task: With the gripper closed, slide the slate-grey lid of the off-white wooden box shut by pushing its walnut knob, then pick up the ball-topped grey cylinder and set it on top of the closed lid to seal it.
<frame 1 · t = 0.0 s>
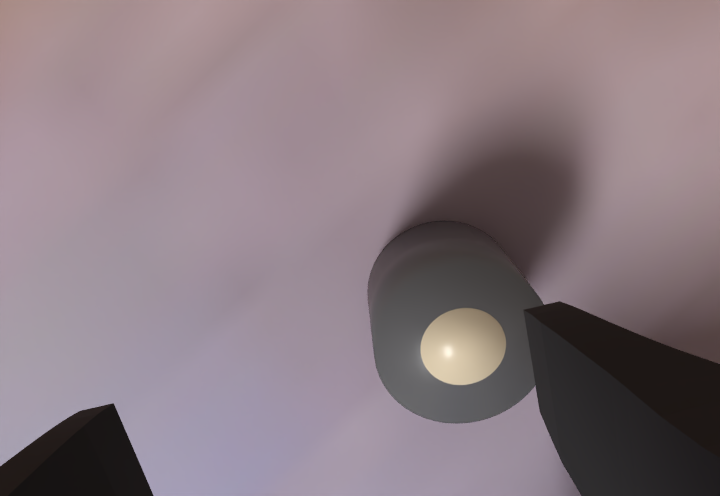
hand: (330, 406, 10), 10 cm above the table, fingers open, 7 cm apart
ball-topped grey cylinder: (440, 291, 21), on the table
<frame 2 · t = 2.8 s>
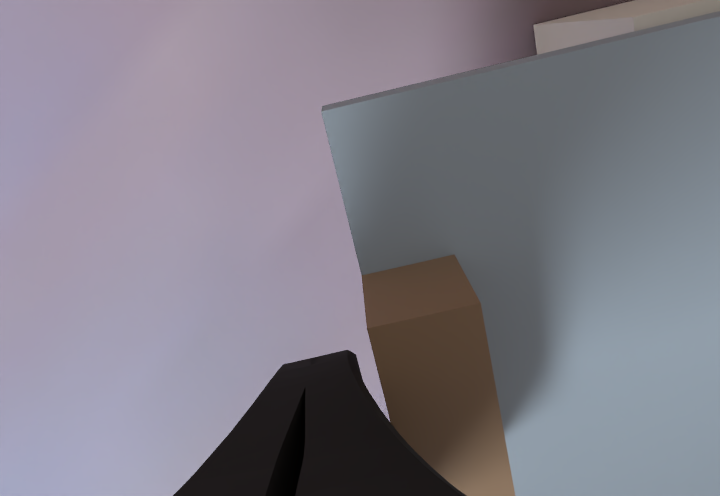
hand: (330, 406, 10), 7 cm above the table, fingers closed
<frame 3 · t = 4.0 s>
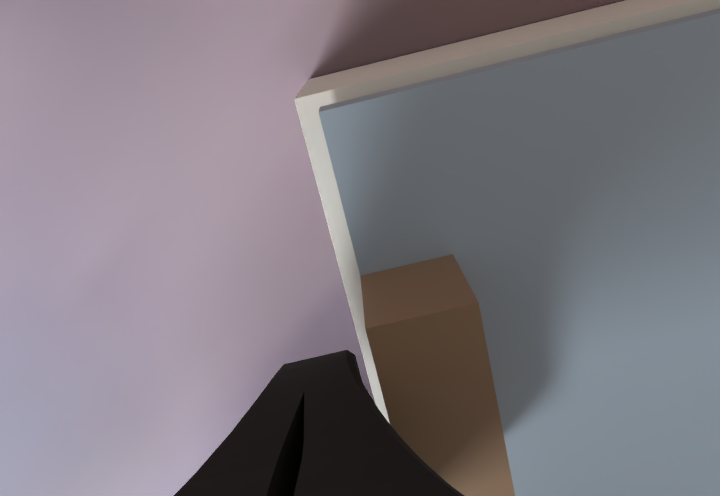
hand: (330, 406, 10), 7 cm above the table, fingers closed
box: (599, 199, 17), on the table
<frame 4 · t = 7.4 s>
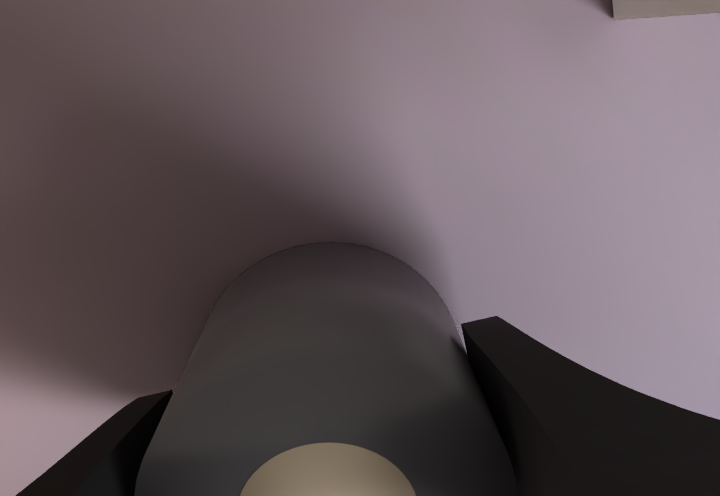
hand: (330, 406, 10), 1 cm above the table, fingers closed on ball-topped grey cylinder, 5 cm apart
ball-topped grey cylinder: (331, 365, 12), on the table, touching gripper
when the fingers open (9 cm above the table, at t = 11.1 s): ball-topped grey cylinder drops 1 cm, resting on lid.
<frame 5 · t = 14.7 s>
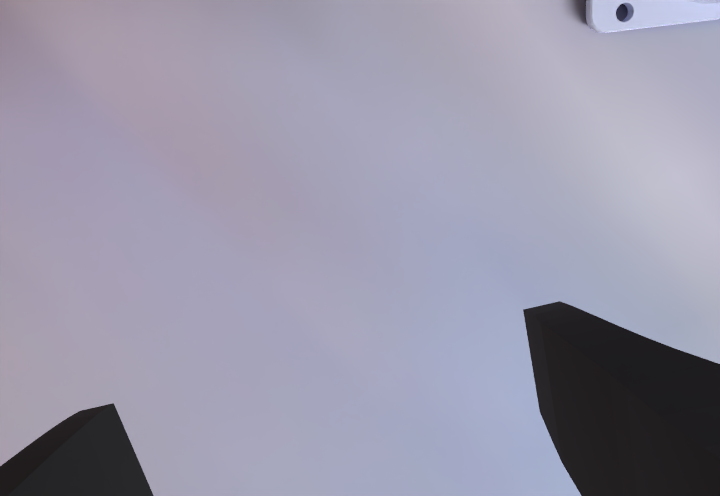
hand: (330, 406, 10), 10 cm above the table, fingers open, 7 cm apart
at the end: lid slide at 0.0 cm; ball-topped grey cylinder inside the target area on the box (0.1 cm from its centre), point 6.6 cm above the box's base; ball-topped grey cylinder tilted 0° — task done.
